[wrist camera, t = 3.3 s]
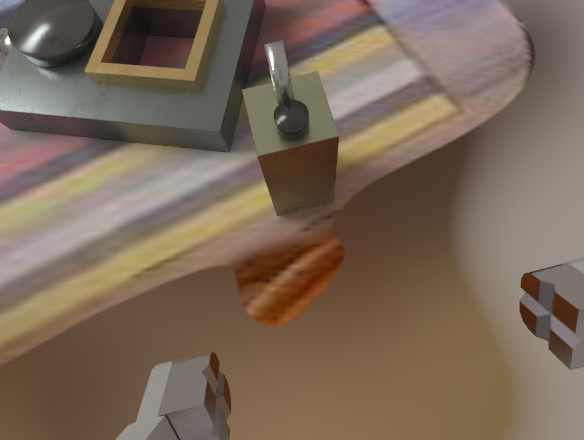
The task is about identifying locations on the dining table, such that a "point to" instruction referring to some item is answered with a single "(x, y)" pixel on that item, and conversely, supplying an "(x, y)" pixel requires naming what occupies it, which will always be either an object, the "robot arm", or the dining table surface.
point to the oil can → (293, 135)
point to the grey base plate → (128, 70)
